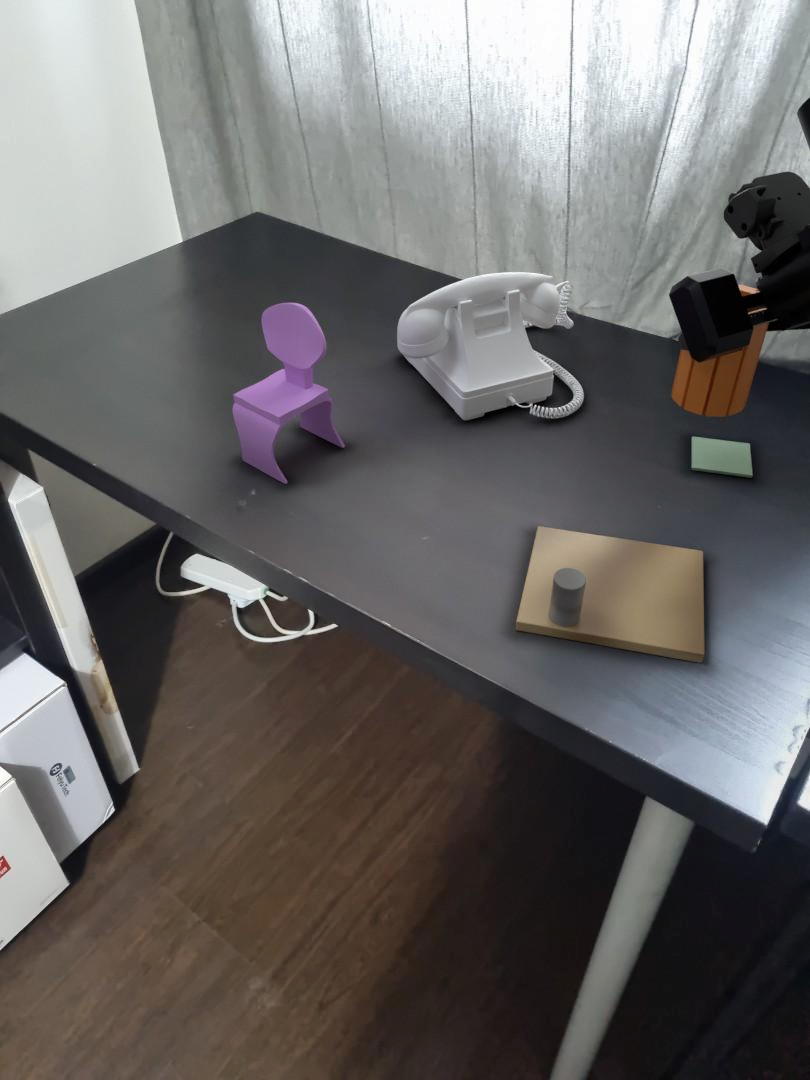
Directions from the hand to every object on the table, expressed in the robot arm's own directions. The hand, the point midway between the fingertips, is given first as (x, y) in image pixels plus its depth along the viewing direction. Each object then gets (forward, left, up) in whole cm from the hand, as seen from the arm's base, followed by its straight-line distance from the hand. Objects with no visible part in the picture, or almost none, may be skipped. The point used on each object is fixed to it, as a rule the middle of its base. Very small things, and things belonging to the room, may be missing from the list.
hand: (711, 335), depth 72 cm
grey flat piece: (-4, -2, -14) cm, 14 cm away
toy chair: (+38, +8, -14) cm, 41 cm away
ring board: (+5, +20, -14) cm, 25 cm away
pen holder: (-1, +1, -6) cm, 6 cm away
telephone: (+20, -12, -14) cm, 27 cm away
